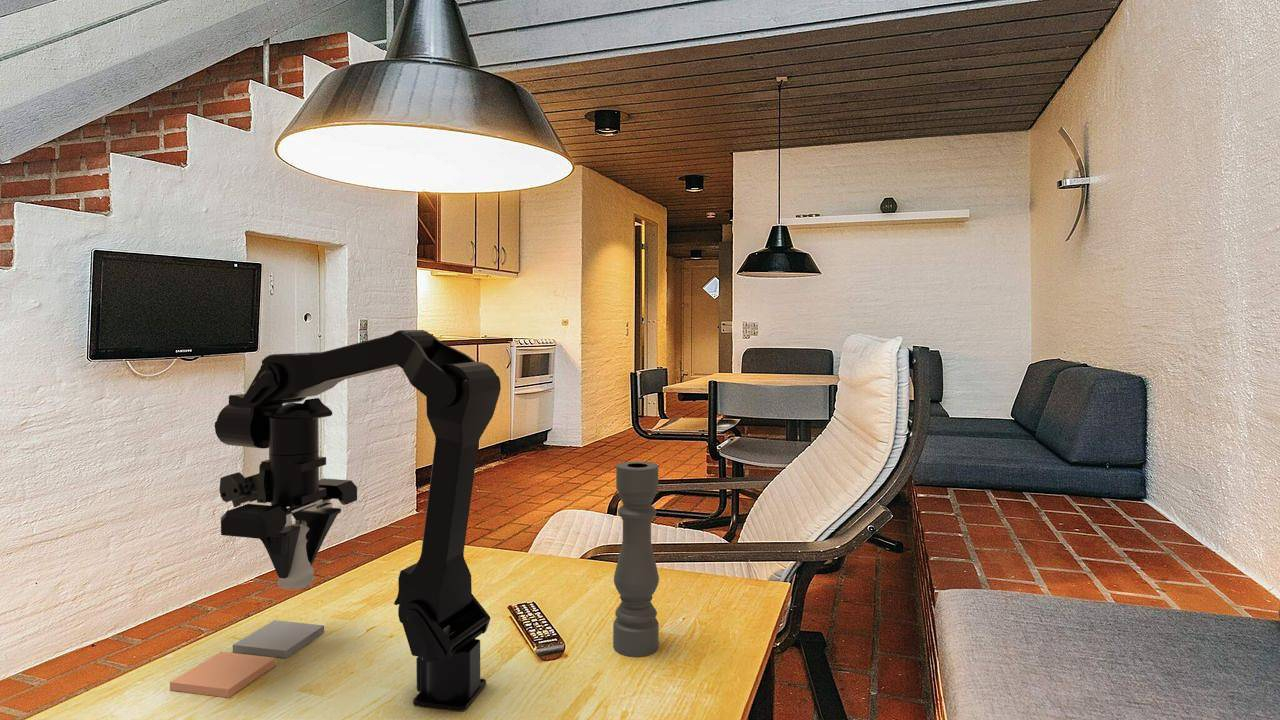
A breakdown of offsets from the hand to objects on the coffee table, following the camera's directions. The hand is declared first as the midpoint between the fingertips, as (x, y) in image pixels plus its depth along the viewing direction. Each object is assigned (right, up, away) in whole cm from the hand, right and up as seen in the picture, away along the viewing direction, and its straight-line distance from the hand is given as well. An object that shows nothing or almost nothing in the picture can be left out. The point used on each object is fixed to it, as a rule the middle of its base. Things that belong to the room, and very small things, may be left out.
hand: (295, 571), depth 92 cm
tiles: (-6, -12, +1) cm, 13 cm away
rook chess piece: (0, -2, 0) cm, 2 cm away
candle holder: (+44, -12, +6) cm, 46 cm away
